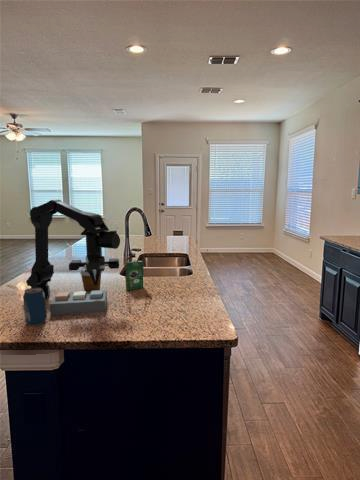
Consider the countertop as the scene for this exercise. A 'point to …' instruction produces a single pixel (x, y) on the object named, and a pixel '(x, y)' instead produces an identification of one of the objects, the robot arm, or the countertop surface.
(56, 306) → the key panel
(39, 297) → the soda can
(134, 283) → the coffee box
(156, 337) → the countertop surface
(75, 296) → the pale key
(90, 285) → the disposable coffee cup
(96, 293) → the slate key
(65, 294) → the rust key
